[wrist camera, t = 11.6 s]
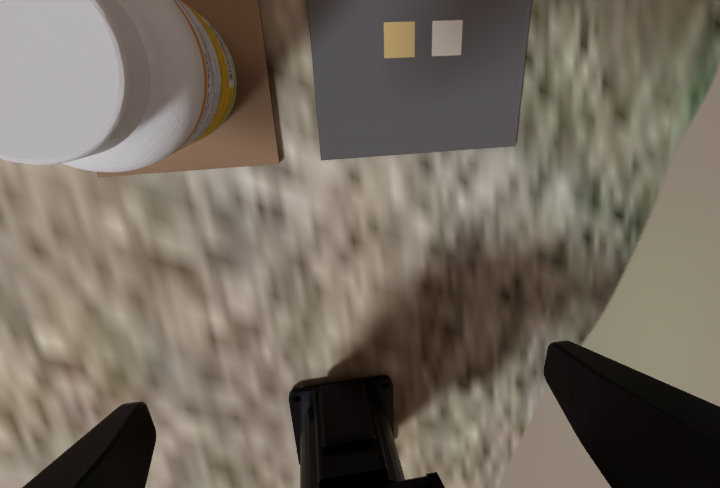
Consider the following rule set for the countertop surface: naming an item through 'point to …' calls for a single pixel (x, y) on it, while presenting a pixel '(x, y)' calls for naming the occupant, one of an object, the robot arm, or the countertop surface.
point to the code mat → (417, 74)
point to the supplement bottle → (108, 81)
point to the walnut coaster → (252, 101)
